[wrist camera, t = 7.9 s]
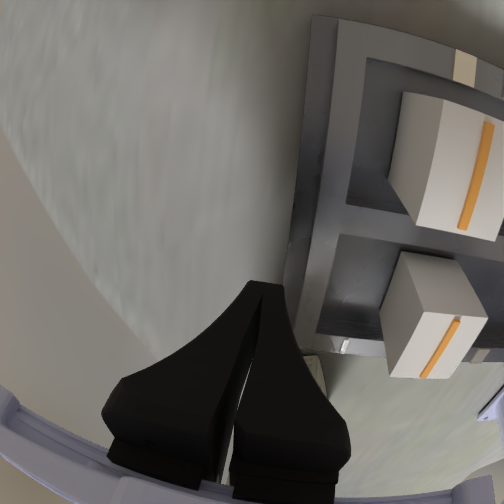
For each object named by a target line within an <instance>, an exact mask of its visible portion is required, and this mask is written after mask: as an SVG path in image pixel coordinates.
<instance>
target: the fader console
mask: <svg viewBox="0 0 504 504" xmlns="http://www.w3.org/2000/svg"><path fill="white" fill-rule="evenodd" d="M403 91H405V92H410V93H416V94H421V95H426V96H431V97H436V98H440V99H444V100H447V101H450V102H453V103H456V104H459V105H462V106H465V107H468V108H471V109H473V110H476V111H479V112H481V113H484V114H486V115H489V116H491V117H494V118H496V119H499V120H501V121H503V122H504V69H502V68H500V67H498V66H496V65H493V64H491V63H489V62H487V61H485V60H482V59H480V58H478V57H475V56H473V55H470V54H468V53H465V52H463V51H460V50H458V49H455V48H452V47H450V46H447V45H444V44H441V43H438V42H435V41H432V40H429V39H426V38H423V37H420V36H416V35H413V34H409V33H406V32H402V31H398V30H394V29H390V28H386V27H382V26H378V25H373V24H368V23H363V22H358V21H353V20H347V19H341V18H335V17H328V16H320V15H312V21H311V34H310V47H309V60H308V71H307V83H306V93H305V104H304V114H303V124H302V133H301V143H300V152H299V161H298V170H297V178H296V187H295V195H294V203H293V211H292V219H291V226H290V234H289V242H288V249H287V256H286V263H285V270H284V277H283V284H282V285H283V286H284V288H285V302H286V307H287V312H288V316H289V320H290V323H291V327H292V330H293V333H294V336H295V338H296V341H297V344H298V346H299V348H301V349H308V350H316V351H324V352H332V353H340V354H350V355H360V356H370V357H382V358H387V357H386V351H385V345H384V338H383V332H382V327H381V321H380V316H379V312H380V309H381V307H382V304H383V301H384V299H385V296H386V294H387V291H388V288H389V285H390V283H391V280H392V277H393V274H394V271H395V268H396V265H397V263H398V260H399V257H400V253H401V251H404V252H410V253H416V254H422V255H428V256H434V257H440V258H445V259H451V260H457V262H458V263H459V265H460V267H461V268H462V270H463V272H464V273H465V275H466V277H467V279H468V280H469V282H470V284H471V286H472V287H473V289H474V291H475V293H476V295H477V297H478V298H479V300H480V302H481V304H482V306H483V308H484V310H485V312H486V314H487V316H488V320H487V321H486V323H485V325H484V327H483V328H482V330H481V332H480V333H479V335H478V336H477V338H476V340H475V341H474V343H473V344H472V346H471V347H470V349H469V350H468V352H467V353H466V355H465V356H464V358H463V359H462V361H461V362H469V363H472V364H481V363H482V362H504V218H503V221H502V224H501V227H500V229H499V232H498V235H497V237H496V240H495V242H494V241H489V240H485V239H480V238H476V237H471V236H467V235H462V234H457V233H453V232H448V231H443V230H438V229H433V228H428V227H423V226H418V225H415V223H414V221H413V220H412V218H411V216H410V215H409V213H408V211H407V210H406V208H405V207H404V205H403V203H402V202H401V200H400V199H399V197H398V195H397V194H396V192H395V191H394V189H393V188H392V186H391V185H390V183H389V182H388V176H389V172H390V167H391V162H392V157H393V151H394V146H395V140H396V135H397V129H398V123H399V116H400V110H401V103H402V96H403Z"/></svg>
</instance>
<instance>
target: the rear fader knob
mask: <svg viewBox="0 0 504 504" xmlns="http://www.w3.org/2000/svg"><path fill="white" fill-rule="evenodd" d="M379 316H380V321H381V327H382V332H383V338H384V345H385V351H386V357H387V364H388V371H389V377H403V378H430V379H449V378H450V376H451V375H452V374H453V372H454V371H455V369H456V368H457V367H458V365H459V364H460V362H461V361H462V359H463V358H464V356H465V355H466V353H467V352H468V350H469V349H470V347H471V346H472V344H473V343H474V341H475V340H476V338H477V336H478V335H479V333H480V332H481V330H482V328H483V327H484V325H485V323H486V321H487V320H488V316H487V314H486V312H485V310H484V308H483V306H482V304H481V302H480V300H479V298H478V297H477V295H476V293H475V291H474V289H473V287H472V286H471V284H470V282H469V280H468V279H467V277H466V275H465V273H464V272H463V270H462V268H461V267H460V265H459V263H458V262H457V260H451V259H445V258H440V257H434V256H428V255H422V254H416V253H410V252H404V251H401V253H400V257H399V260H398V263H397V265H396V268H395V271H394V274H393V277H392V280H391V283H390V285H389V288H388V291H387V294H386V296H385V299H384V301H383V304H382V307H381V309H380V312H379Z"/></svg>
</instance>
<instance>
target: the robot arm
mask: <svg viewBox="0 0 504 504" xmlns="http://www.w3.org/2000/svg"><path fill="white" fill-rule="evenodd" d="M252 359H253V360H252ZM251 362H252V363H251ZM250 365H251V367H250ZM249 368H250V371H249ZM248 371H249V374H248ZM247 374H248V378H247V381H246V384H245V388H244V391H243V394H242V397H241V400H240V396H241V392H242V389H243V386H244V383H245V380H246V377H247ZM239 400H240V404H239ZM238 404H239V407H238ZM237 408H238V410H237ZM101 415H102V418H103V420H104V422H105V424H106V425H107V427H108V428H109V430H110V431H111V433H112V434H113V435H114V437H115V438H114V440H113V443H112V445H111V447H110V449H107V448H104V447H102V446H100V445H98V444H95V443H93V442H91V441H88V440H86V439H84V438H82V437H80V436H78V435H76V434H74V433H72V432H70V431H68V430H66V429H64V428H62V427H60V426H58V425H56V424H54V423H52V422H50V421H48V420H47V419H45V418H43V417H41V416H39V415H38V414H36V413H34V412H32V411H31V410H29V409H27V408H26V407H24V406H22V405H21V404H20V402H19V401H18V399H16V397H15V396H14V395H13V394H12V393H11V392H10V391H8V390H7V389H5V388H4V387H3V386H1V385H0V455H1V456H2V457H3V458H4V459H6V460H7V461H8V462H10V463H11V464H13V465H14V466H15V467H17V468H18V469H20V470H21V471H22V472H24V473H25V474H27V475H28V476H30V477H31V478H33V479H34V480H36V481H37V482H39V483H40V484H42V485H43V486H45V487H47V488H48V489H50V490H52V491H53V492H55V493H57V494H58V495H60V496H62V497H63V498H65V499H67V500H69V501H71V502H72V503H74V504H495V496H494V489H493V481H492V476H491V475H488V476H483V477H479V478H474V479H470V480H466V481H464V482H462V483H460V484H458V485H456V486H455V487H454V488H453V489H449V490H443V491H437V492H430V493H422V494H413V495H403V496H390V497H368V498H335V485H336V484H337V483H338V476H339V470H340V469H341V468H342V467H343V466H344V465H345V464H346V463H347V462H348V461H349V459H350V457H351V444H350V437H349V433H348V429H347V425H346V422H345V420H344V419H343V418H342V417H341V416H340V414H339V413H338V412H337V411H336V409H335V408H334V407H333V406H332V404H331V403H330V402H329V400H328V399H327V397H326V396H325V394H324V393H323V392H322V390H321V388H320V387H319V385H318V383H317V382H316V380H315V378H314V377H313V375H312V374H311V372H310V370H309V368H308V366H307V364H306V362H305V360H304V358H303V356H302V353H301V351H300V349H299V346H298V344H297V341H296V338H295V336H294V333H293V330H292V327H291V323H290V320H289V316H288V312H287V307H286V302H285V288H284V286H283V285H279V284H272V283H266V282H259V281H253V280H250V281H248V282H247V284H246V285H245V287H244V288H243V290H242V291H241V292H240V294H239V295H238V296H237V297H236V299H235V300H234V301H233V302H232V303H231V304H230V305H229V307H228V308H227V309H226V310H225V311H224V312H223V313H222V314H221V315H220V316H219V317H218V318H217V319H216V320H215V321H214V322H213V323H212V324H211V325H210V326H209V327H208V328H207V329H205V330H204V331H203V332H202V333H201V334H200V335H198V336H197V337H196V338H194V339H193V340H192V341H191V342H189V343H188V344H186V345H185V346H183V347H182V348H181V349H179V350H178V351H176V352H175V353H173V354H171V355H170V356H168V357H166V358H164V359H163V360H161V361H159V362H157V363H155V364H153V365H152V366H150V367H148V368H146V369H143V370H141V371H138V372H136V373H134V374H132V375H129V376H127V377H124V378H122V379H121V380H120V382H119V383H118V384H117V386H116V387H115V388H114V390H113V391H112V393H111V394H110V396H109V398H108V400H107V402H106V404H105V406H104V407H103V409H102V412H101ZM493 419H497V422H498V426H499V430H500V434H501V438H502V443H503V447H504V388H503V389H502V390H501V391H500V392H499V393H498V394H497V396H496V397H495V398H494V399H493V400H492V401H491V402H490V403H489V404H488V406H487V407H486V408H485V409H484V410H483V411H482V412H481V413H480V414H479V415H478V416H477V420H478V421H485V420H493ZM233 426H234V441H233V454H232V458H231V462H230V466H229V485H224V484H221V480H222V475H223V471H224V466H225V461H226V457H227V452H228V447H229V443H230V439H231V435H232V430H233ZM501 504H504V500H503V501H502V502H501Z"/></svg>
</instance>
